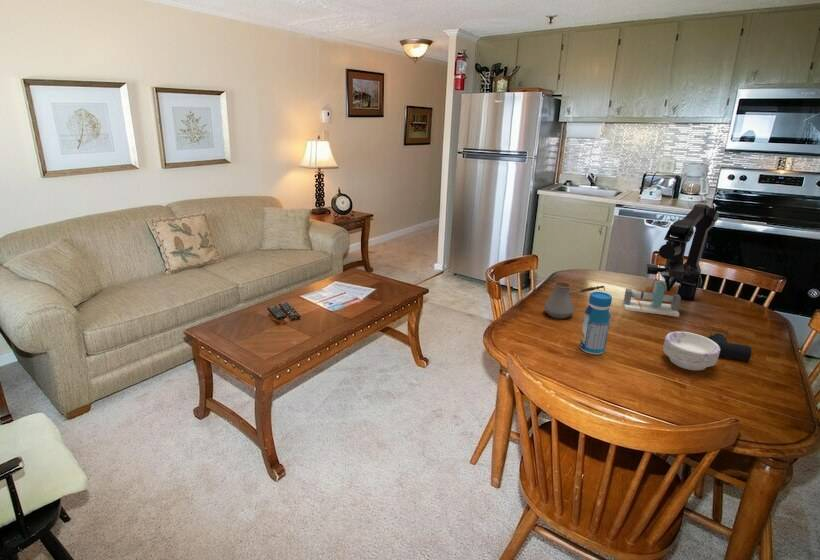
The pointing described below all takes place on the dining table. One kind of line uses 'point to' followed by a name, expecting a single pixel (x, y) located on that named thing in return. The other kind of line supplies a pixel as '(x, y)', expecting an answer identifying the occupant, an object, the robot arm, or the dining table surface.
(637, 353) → the dining table surface
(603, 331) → the beverage bottle
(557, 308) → the coffee pot
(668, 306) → the pipe rig
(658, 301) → the sleeve collar
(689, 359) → the paper bowls
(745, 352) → the pipe connector
